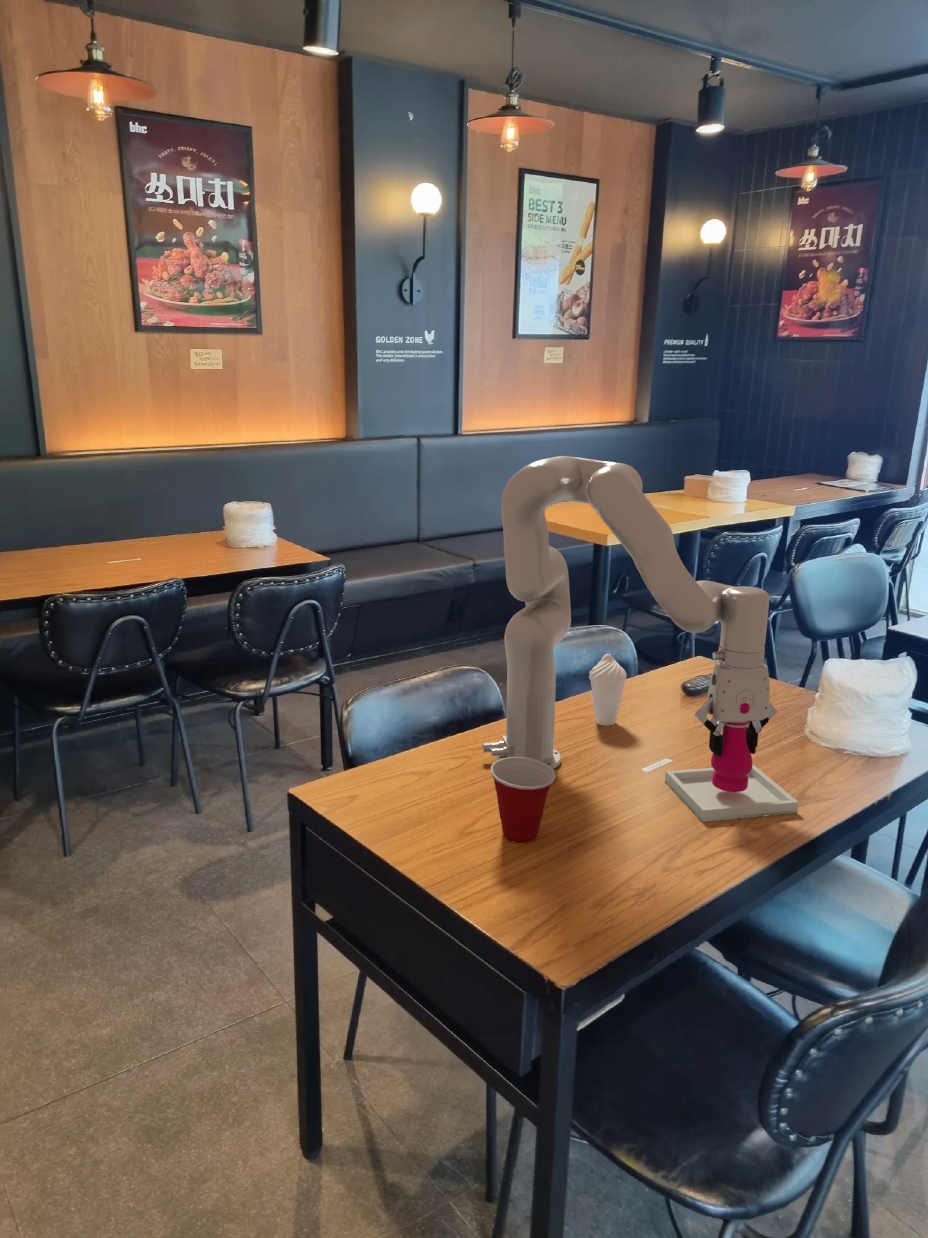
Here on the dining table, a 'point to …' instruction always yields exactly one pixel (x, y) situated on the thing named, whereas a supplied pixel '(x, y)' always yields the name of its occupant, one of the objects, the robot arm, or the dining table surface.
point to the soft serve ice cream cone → (607, 689)
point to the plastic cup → (521, 795)
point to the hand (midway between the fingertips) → (732, 751)
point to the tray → (729, 795)
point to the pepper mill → (733, 757)
